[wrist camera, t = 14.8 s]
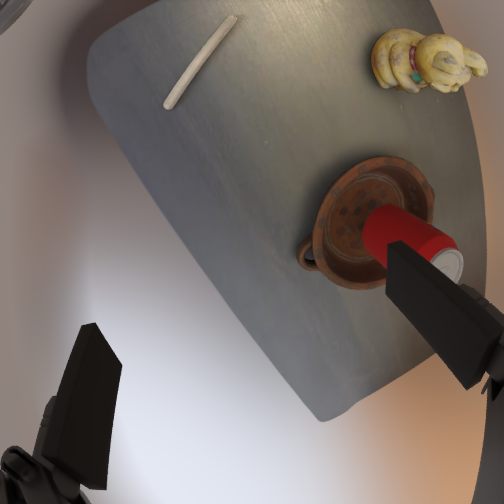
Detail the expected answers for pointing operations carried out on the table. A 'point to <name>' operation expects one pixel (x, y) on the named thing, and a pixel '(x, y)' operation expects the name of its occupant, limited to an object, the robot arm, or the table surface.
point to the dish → (362, 219)
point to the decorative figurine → (423, 61)
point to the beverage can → (411, 239)
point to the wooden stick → (199, 61)
